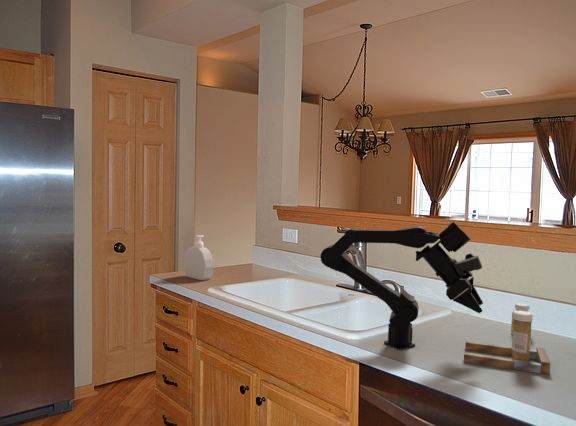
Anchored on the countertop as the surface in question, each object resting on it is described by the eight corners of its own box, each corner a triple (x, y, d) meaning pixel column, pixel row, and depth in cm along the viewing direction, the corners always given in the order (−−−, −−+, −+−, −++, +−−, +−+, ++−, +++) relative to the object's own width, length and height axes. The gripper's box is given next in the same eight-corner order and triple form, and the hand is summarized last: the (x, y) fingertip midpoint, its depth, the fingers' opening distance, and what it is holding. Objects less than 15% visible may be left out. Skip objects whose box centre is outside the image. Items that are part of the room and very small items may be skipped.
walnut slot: (463, 361, 128) (464, 350, 128) (465, 347, 139) (466, 337, 139) (549, 374, 120) (550, 362, 120) (544, 358, 131) (544, 347, 131)
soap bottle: (214, 279, 225) (214, 236, 223) (205, 281, 221) (205, 237, 219) (192, 274, 235) (193, 233, 234) (183, 276, 231) (183, 234, 230)
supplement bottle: (507, 332, 154) (508, 302, 153) (520, 331, 156) (521, 301, 155) (520, 338, 149) (522, 307, 148) (534, 336, 151) (535, 306, 150)
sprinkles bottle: (533, 363, 128) (536, 313, 127) (523, 367, 125) (526, 315, 124) (516, 358, 131) (519, 309, 130) (506, 361, 129) (509, 311, 128)
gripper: (462, 249, 124) (507, 297, 120) (466, 241, 141) (505, 283, 138) (428, 275, 127) (470, 323, 124) (436, 265, 145) (473, 307, 141)
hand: (481, 308), depth 132 cm, fingers open, 9 cm apart
